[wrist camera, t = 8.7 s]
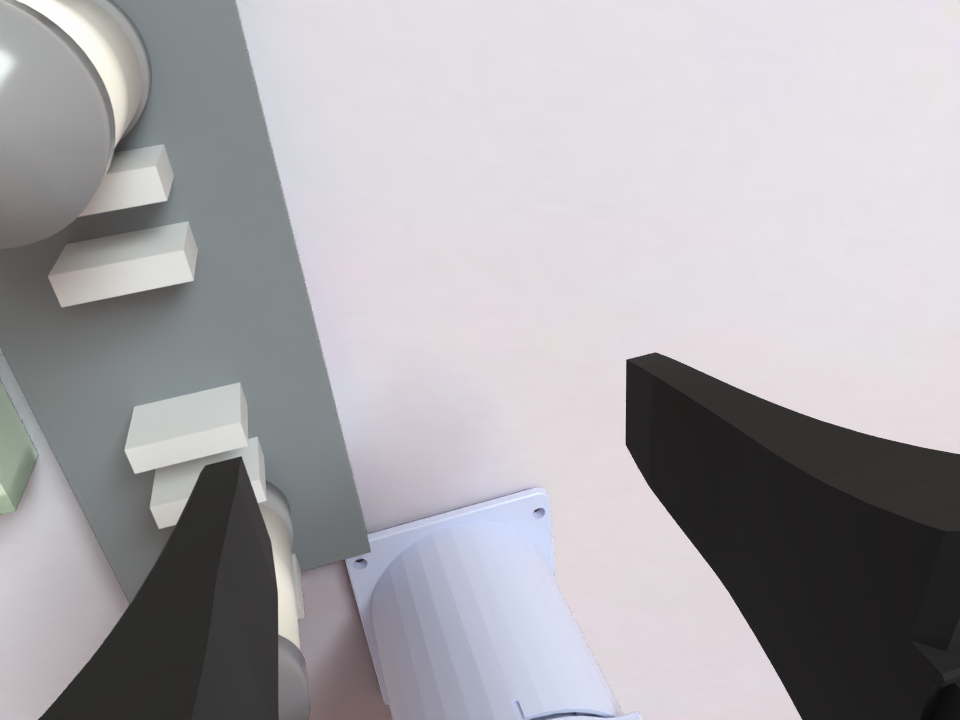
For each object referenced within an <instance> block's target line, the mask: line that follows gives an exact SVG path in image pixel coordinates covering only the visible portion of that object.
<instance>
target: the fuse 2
mask: <svg viewBox="0 0 960 720" xmlns="http://www.w3.org/2000/svg"><path fill="white" fill-rule="evenodd" d="M266 498H267V501H264V502H260V503H258V505H259V508H260V511H261V514H262V516H263V519H264V522H265V525H266V528H267V531H268V534H269V537H270V540H271V543H272V551H273V558H274V565H275V573H276V581H277V589H278V712H279V720H308V719H309V714H310V701H309V691H308V681H307V671H306V663H305V659H304V657H303V655H302V653H301V650H300V639H299V628H298V618H297V607H296V596H295V585H294V575H293V564H292V553H291V549H292V546H293V529H292V519H291V510H290V505H289V503H288V500H287V498H286V497H285V495H284V494H283V493H282V491H281V490H280V489H278V488H277V487H276V486H275V485H273V484H272V483H270V482H268V481H266ZM175 526H176V525H174V526H173V529H174V527H175Z"/></svg>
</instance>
